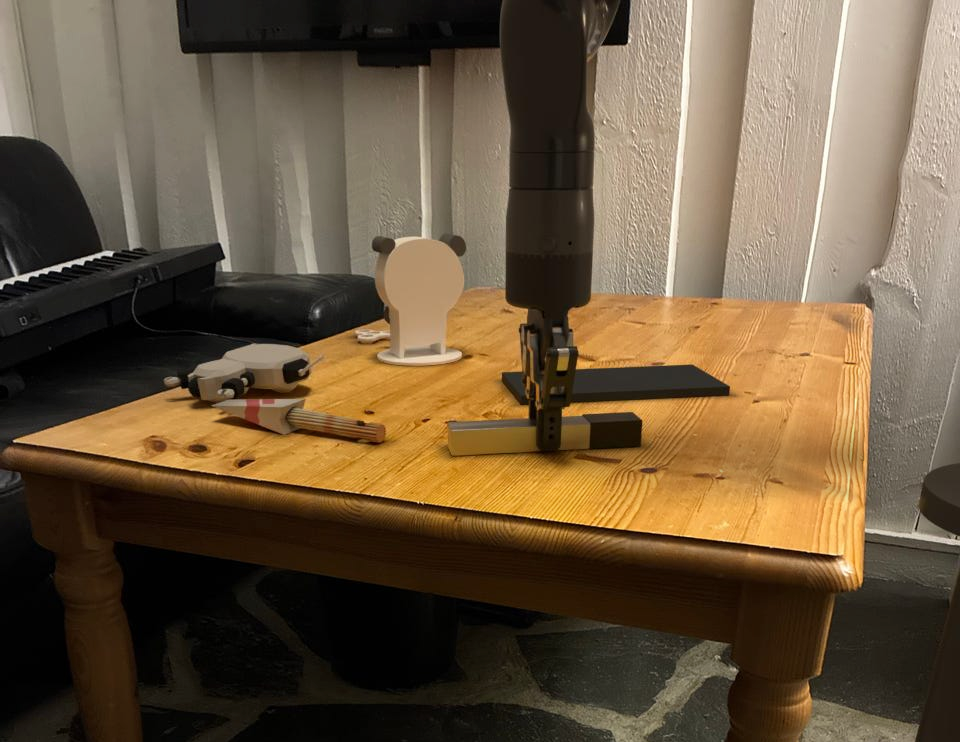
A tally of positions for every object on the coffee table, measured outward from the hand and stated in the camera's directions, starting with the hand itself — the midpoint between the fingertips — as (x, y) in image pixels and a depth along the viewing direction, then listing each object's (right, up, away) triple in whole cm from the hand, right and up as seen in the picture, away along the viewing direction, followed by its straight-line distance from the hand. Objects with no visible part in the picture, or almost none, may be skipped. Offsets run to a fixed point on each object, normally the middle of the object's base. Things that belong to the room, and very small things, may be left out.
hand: (544, 442), depth 88 cm
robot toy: (-33, +9, +19) cm, 39 cm away
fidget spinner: (-21, +26, +49) cm, 59 cm away
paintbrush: (-24, +2, +6) cm, 25 cm away
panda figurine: (-14, +19, +38) cm, 45 cm away
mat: (+9, +11, +21) cm, 26 cm away
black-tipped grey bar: (0, 0, 0) cm, 0 cm away
